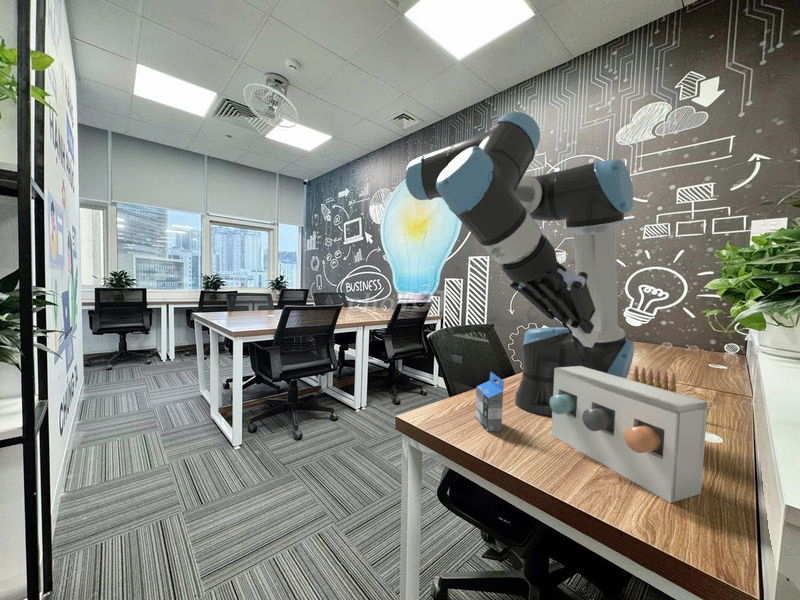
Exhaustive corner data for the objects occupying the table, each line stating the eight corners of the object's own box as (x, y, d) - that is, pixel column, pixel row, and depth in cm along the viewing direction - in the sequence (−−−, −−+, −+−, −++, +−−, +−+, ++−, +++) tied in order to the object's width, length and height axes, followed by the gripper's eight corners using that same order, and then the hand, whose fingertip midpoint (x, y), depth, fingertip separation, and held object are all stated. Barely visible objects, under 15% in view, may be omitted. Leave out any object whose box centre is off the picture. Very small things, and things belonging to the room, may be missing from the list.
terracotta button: (623, 446, 57) (624, 423, 57) (635, 443, 58) (636, 421, 58) (647, 457, 53) (648, 433, 53) (659, 455, 54) (661, 431, 54)
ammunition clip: (676, 415, 91) (678, 373, 90) (674, 416, 90) (676, 373, 89) (631, 403, 99) (634, 364, 99) (629, 404, 98) (631, 365, 98)
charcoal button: (581, 426, 65) (582, 406, 65) (592, 424, 66) (593, 404, 66) (600, 434, 61) (601, 414, 61) (611, 432, 62) (612, 412, 62)
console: (551, 435, 76) (554, 367, 75) (576, 430, 79) (580, 365, 78) (670, 503, 53) (676, 406, 52) (701, 493, 55) (707, 401, 55)
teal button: (549, 410, 73) (550, 392, 73) (559, 408, 74) (560, 391, 74) (563, 417, 69) (564, 398, 69) (574, 415, 70) (575, 397, 70)
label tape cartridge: (474, 417, 86) (476, 371, 85) (488, 416, 86) (490, 371, 85) (486, 432, 77) (488, 381, 76) (502, 432, 77) (504, 381, 77)
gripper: (475, 268, 52) (549, 350, 61) (544, 265, 41) (622, 367, 50) (499, 234, 54) (566, 319, 63) (571, 222, 42) (641, 328, 51)
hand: (591, 340), depth 56 cm, fingers closed
